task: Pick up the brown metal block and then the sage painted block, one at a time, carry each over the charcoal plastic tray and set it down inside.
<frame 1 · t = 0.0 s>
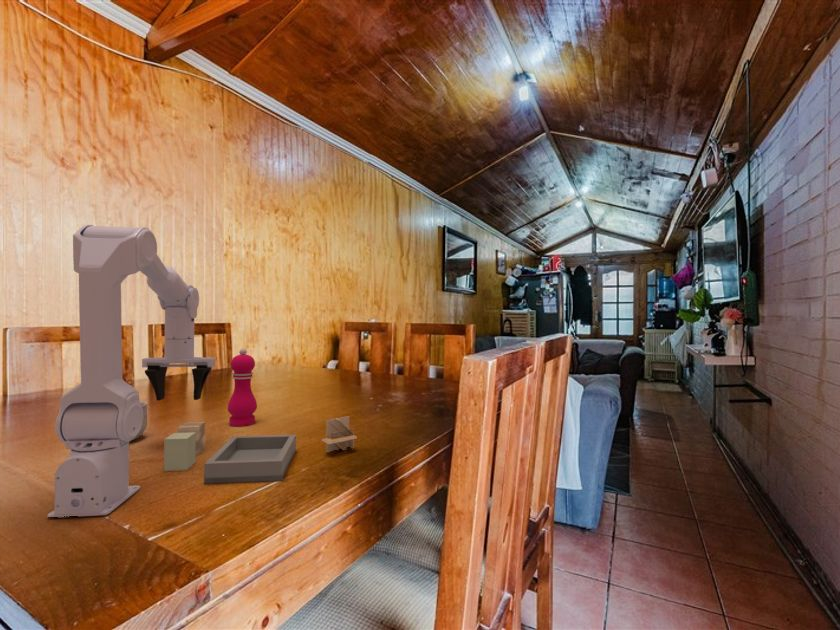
hand: (179, 399, 93), 10 cm above the table, fingers open, 7 cm apart
pepper mill: (242, 424, 111), on the table
teacup: (125, 439, 97), on the table
sage block: (180, 466, 80), on the table
brown metal block: (191, 452, 87), on the table
tray: (254, 465, 81), on the table
architectural model: (340, 454, 90), on the table
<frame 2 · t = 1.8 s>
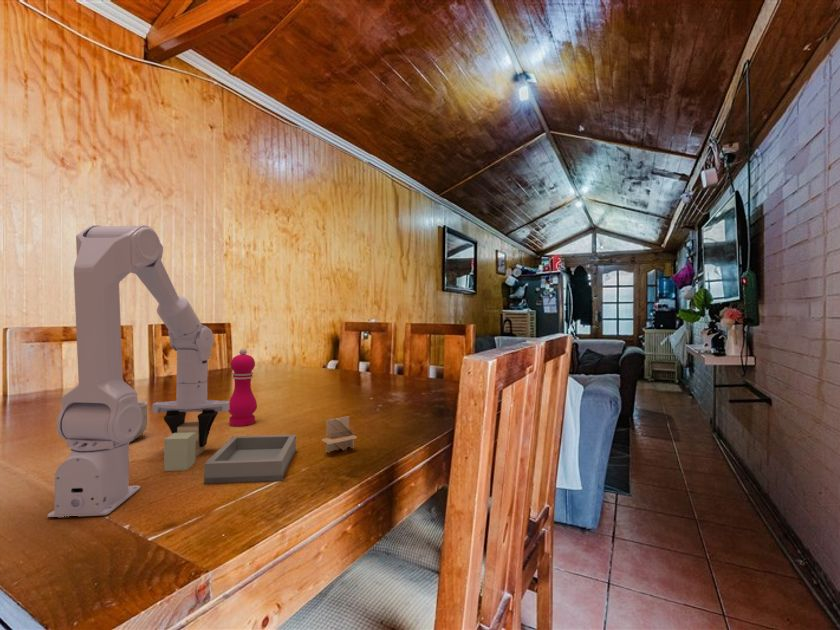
hand: (191, 446, 87), 1 cm above the table, fingers closed on brown metal block, 4 cm apart
brown metal block: (191, 452, 87), on the table, touching gripper
everything else where it was.
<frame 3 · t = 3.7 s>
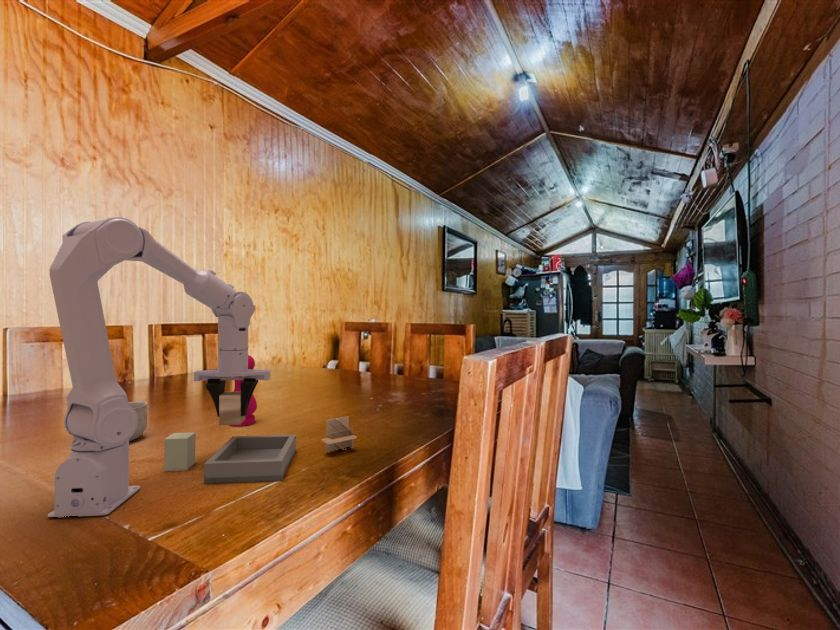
hand: (232, 415, 86), 8 cm above the table, fingers closed on brown metal block, 4 cm apart
brown metal block: (232, 422, 86), point 7 cm above the table, touching gripper
everything else where it was.
when the fingers open (4 cm above the table, at t = 5.4 s): brown metal block drops 1 cm, resting on tray.
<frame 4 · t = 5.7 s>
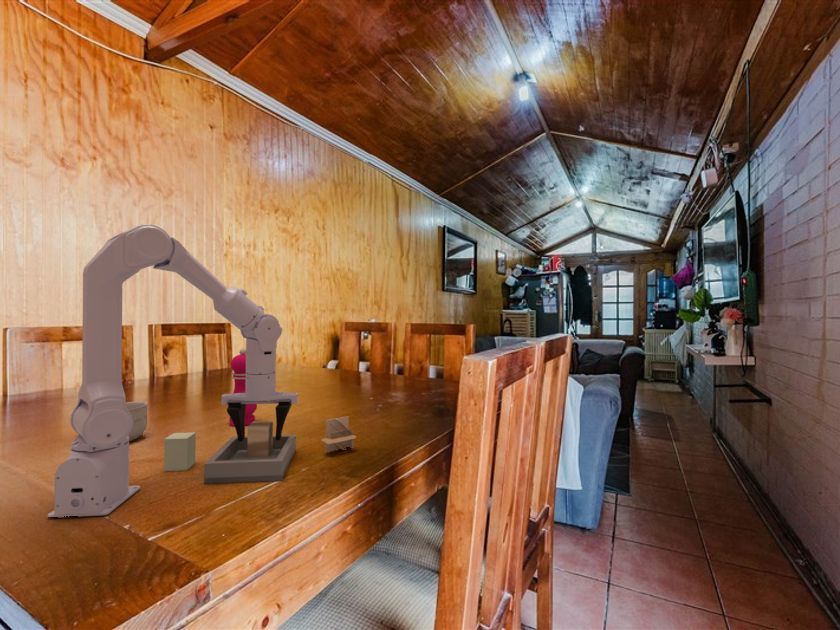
hand: (260, 439, 85), 4 cm above the table, fingers open, 7 cm apart
brown metal block: (260, 453, 85), point 1 cm above the table, touching tray
everything else where it was.
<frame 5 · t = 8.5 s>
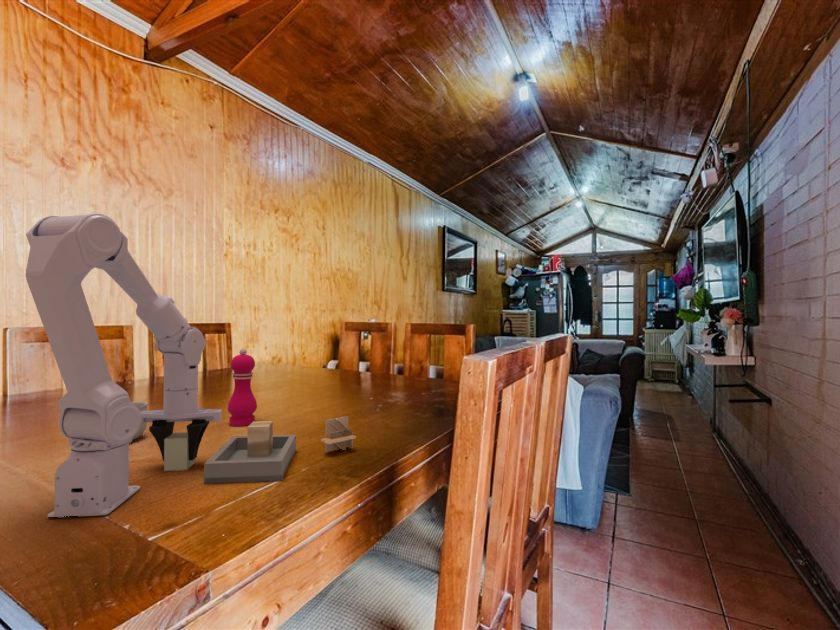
hand: (180, 459, 80), 1 cm above the table, fingers closed on sage block, 4 cm apart
sage block: (180, 466, 80), on the table, touching gripper
everything else where it was.
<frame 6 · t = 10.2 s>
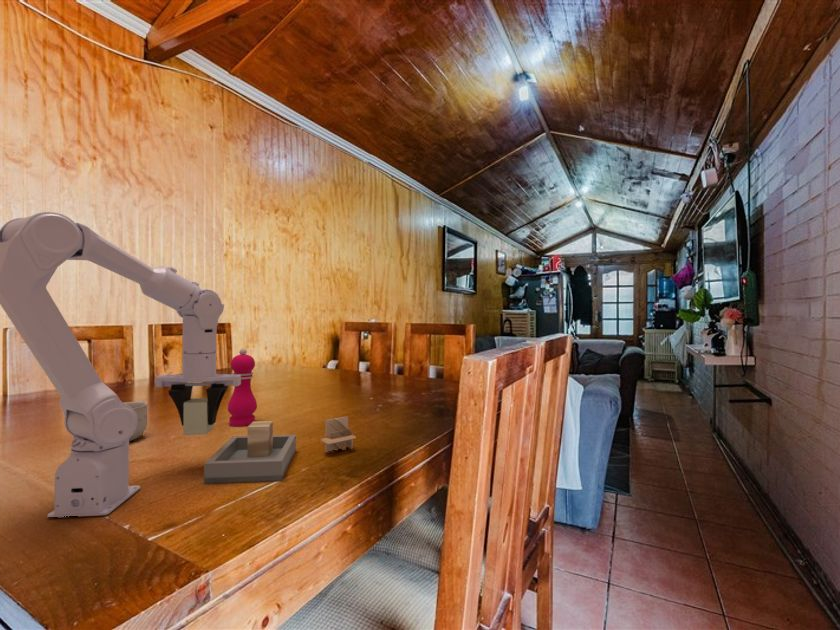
hand: (199, 423, 79), 8 cm above the table, fingers closed on sage block, 4 cm apart
sage block: (198, 431, 79), point 7 cm above the table, touching gripper
everything else where it was.
when the fingers open (4 cm above the table, at t = 12.1 s): sage block drops 1 cm, point 1 cm above the table.
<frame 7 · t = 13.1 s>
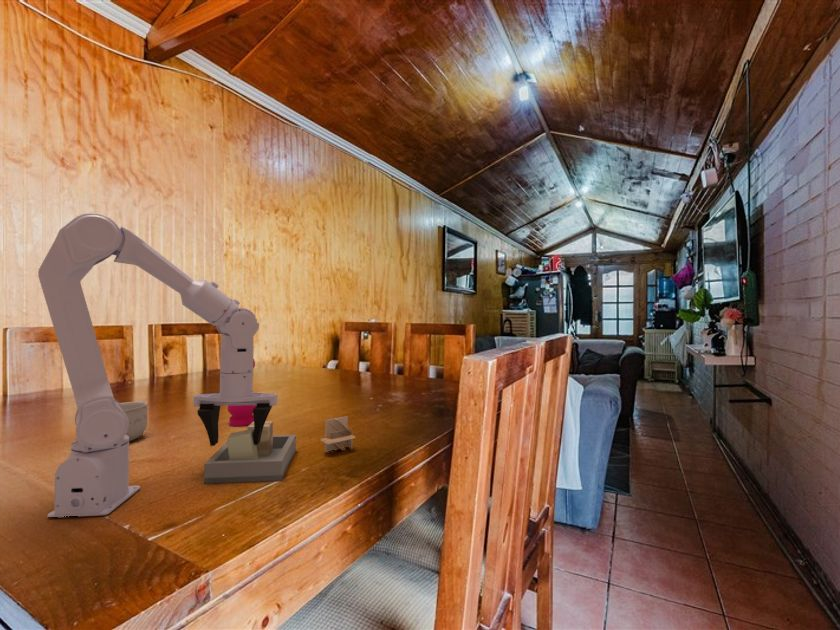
hand: (235, 443, 78), 5 cm above the table, fingers open, 7 cm apart
sage block: (245, 465, 77), point 1 cm above the table, tilted 8°, touching gripper
everything else where it was.
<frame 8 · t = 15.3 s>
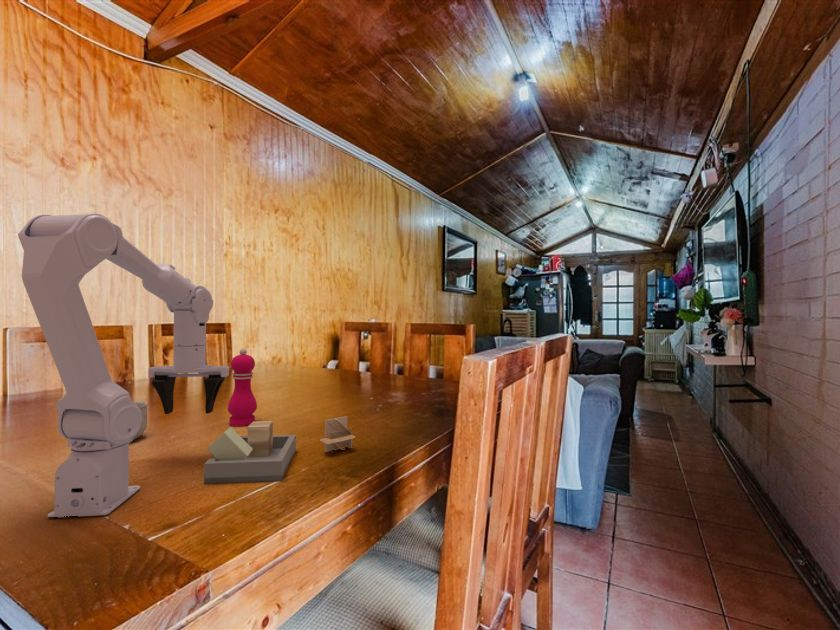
hand: (189, 412, 84), 9 cm above the table, fingers open, 7 cm apart
sage block: (241, 460, 77), point 2 cm above the table, tilted 43°, touching tray
everything else where it was.
at the end: brown metal block inside the target area on the tray (4.1 cm from its centre), point 1.0 cm above the tray's base; sage block inside the target area on the tray (3.8 cm from its centre), point 2.4 cm above the tray's base; the gripper is holding nothing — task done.
